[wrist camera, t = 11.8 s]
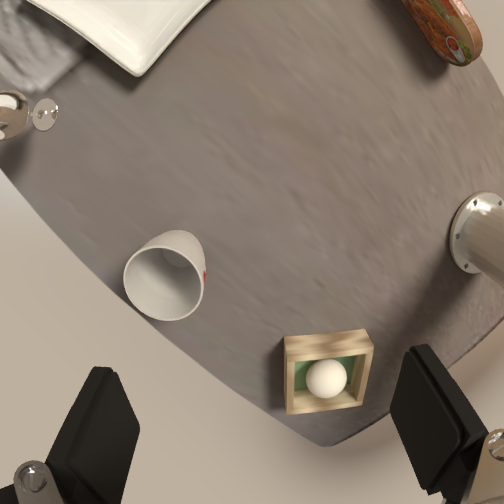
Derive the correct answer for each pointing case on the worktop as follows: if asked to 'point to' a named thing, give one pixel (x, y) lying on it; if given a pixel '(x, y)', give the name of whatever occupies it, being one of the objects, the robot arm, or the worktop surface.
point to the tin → (448, 29)
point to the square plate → (126, 26)
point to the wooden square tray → (323, 347)
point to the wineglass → (23, 114)
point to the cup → (167, 276)
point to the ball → (326, 378)
